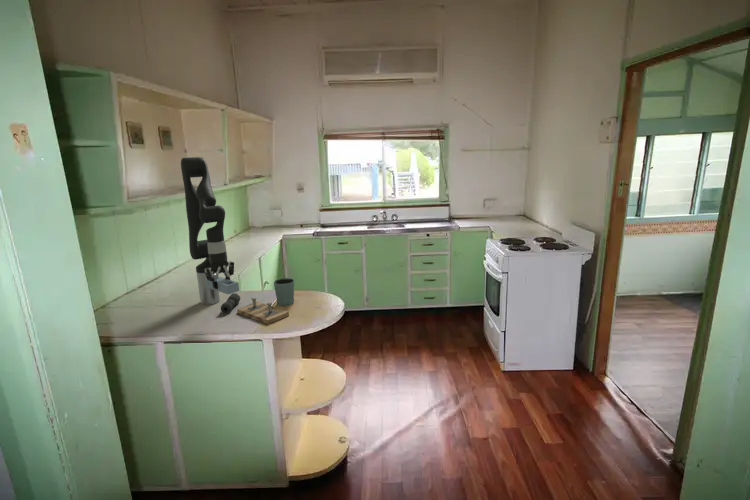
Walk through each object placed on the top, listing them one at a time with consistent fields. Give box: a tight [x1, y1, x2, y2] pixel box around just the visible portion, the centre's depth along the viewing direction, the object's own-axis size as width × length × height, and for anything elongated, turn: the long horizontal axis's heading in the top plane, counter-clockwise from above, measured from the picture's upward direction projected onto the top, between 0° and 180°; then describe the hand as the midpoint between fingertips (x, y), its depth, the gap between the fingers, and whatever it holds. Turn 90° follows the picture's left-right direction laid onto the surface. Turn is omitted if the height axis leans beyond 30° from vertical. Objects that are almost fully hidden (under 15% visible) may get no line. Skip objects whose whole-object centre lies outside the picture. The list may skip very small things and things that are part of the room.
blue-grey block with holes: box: [205, 275, 240, 296], centre depth 185 cm, size 18×6×4 cm, turn 52°
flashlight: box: [220, 292, 241, 314], centre depth 205 cm, size 15×5×5 cm, turn 1°
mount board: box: [236, 296, 290, 325], centre depth 195 cm, size 24×12×7 cm, turn 52°
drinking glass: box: [273, 277, 295, 307], centre depth 208 cm, size 10×10×12 cm
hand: (222, 286), depth 185 cm, fingers closed on blue-grey block with holes, 5 cm apart
